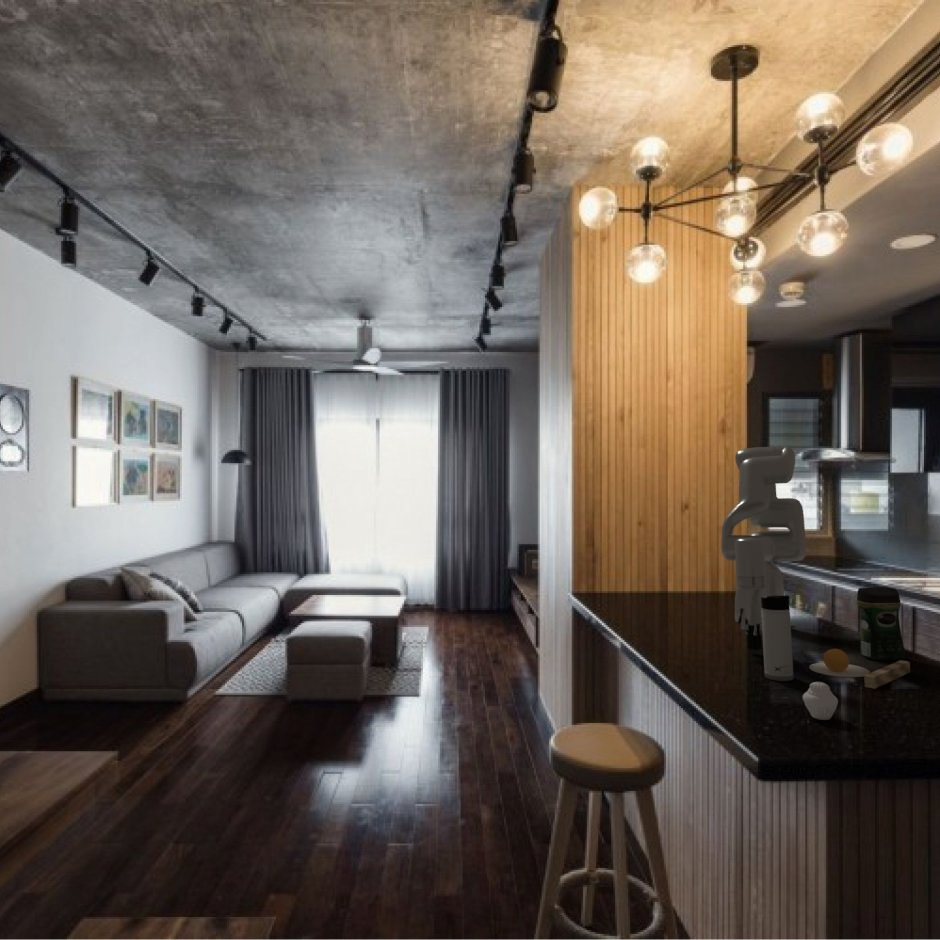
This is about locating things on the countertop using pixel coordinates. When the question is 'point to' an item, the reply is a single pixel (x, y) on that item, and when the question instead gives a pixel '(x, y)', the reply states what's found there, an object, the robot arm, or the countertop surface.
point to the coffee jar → (880, 623)
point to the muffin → (820, 701)
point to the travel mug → (777, 638)
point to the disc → (849, 672)
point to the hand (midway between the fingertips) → (754, 648)
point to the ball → (836, 660)
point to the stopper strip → (887, 674)
